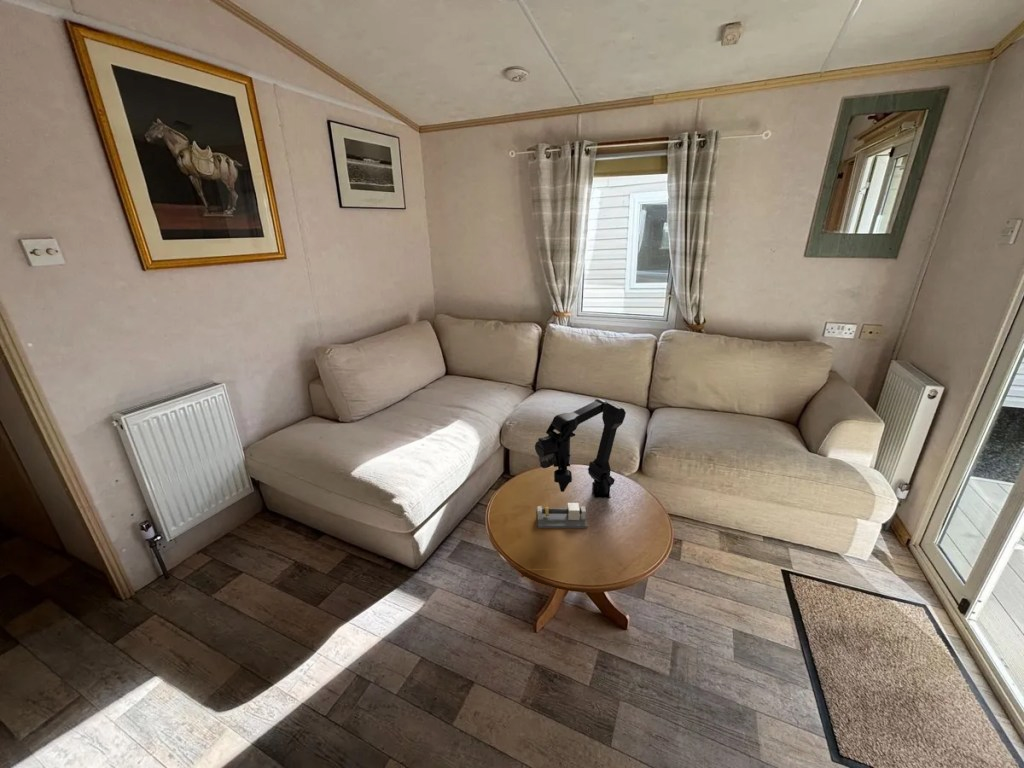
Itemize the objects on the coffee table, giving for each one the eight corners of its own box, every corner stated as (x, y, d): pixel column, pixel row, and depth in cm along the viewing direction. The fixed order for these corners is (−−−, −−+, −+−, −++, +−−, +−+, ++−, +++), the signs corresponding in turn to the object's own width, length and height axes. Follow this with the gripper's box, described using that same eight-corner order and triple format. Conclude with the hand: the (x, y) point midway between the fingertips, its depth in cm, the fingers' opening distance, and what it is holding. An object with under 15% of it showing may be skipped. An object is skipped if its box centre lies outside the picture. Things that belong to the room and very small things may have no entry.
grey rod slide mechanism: (583, 510, 156) (583, 499, 154) (586, 528, 146) (587, 516, 145) (537, 510, 156) (537, 499, 155) (538, 527, 147) (538, 516, 145)
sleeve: (577, 512, 153) (578, 502, 151) (579, 520, 149) (579, 510, 147) (567, 512, 153) (567, 502, 151) (568, 520, 149) (568, 510, 147)
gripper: (540, 435, 155) (540, 469, 161) (540, 462, 138) (540, 499, 143) (569, 436, 154) (568, 470, 160) (572, 462, 137) (571, 499, 142)
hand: (561, 484), depth 151 cm, fingers open, 9 cm apart
